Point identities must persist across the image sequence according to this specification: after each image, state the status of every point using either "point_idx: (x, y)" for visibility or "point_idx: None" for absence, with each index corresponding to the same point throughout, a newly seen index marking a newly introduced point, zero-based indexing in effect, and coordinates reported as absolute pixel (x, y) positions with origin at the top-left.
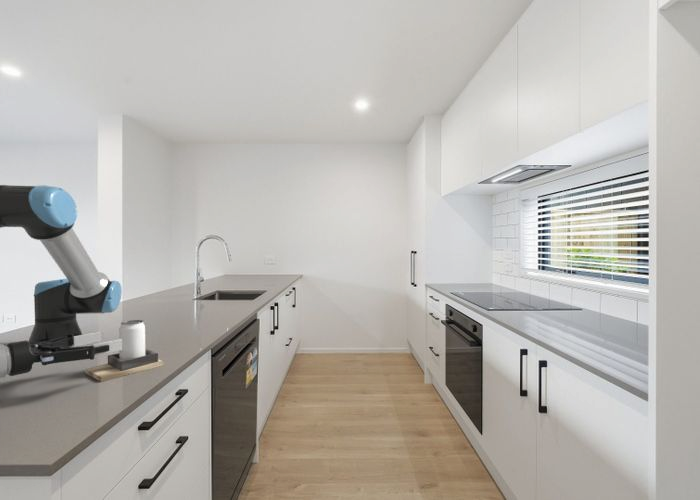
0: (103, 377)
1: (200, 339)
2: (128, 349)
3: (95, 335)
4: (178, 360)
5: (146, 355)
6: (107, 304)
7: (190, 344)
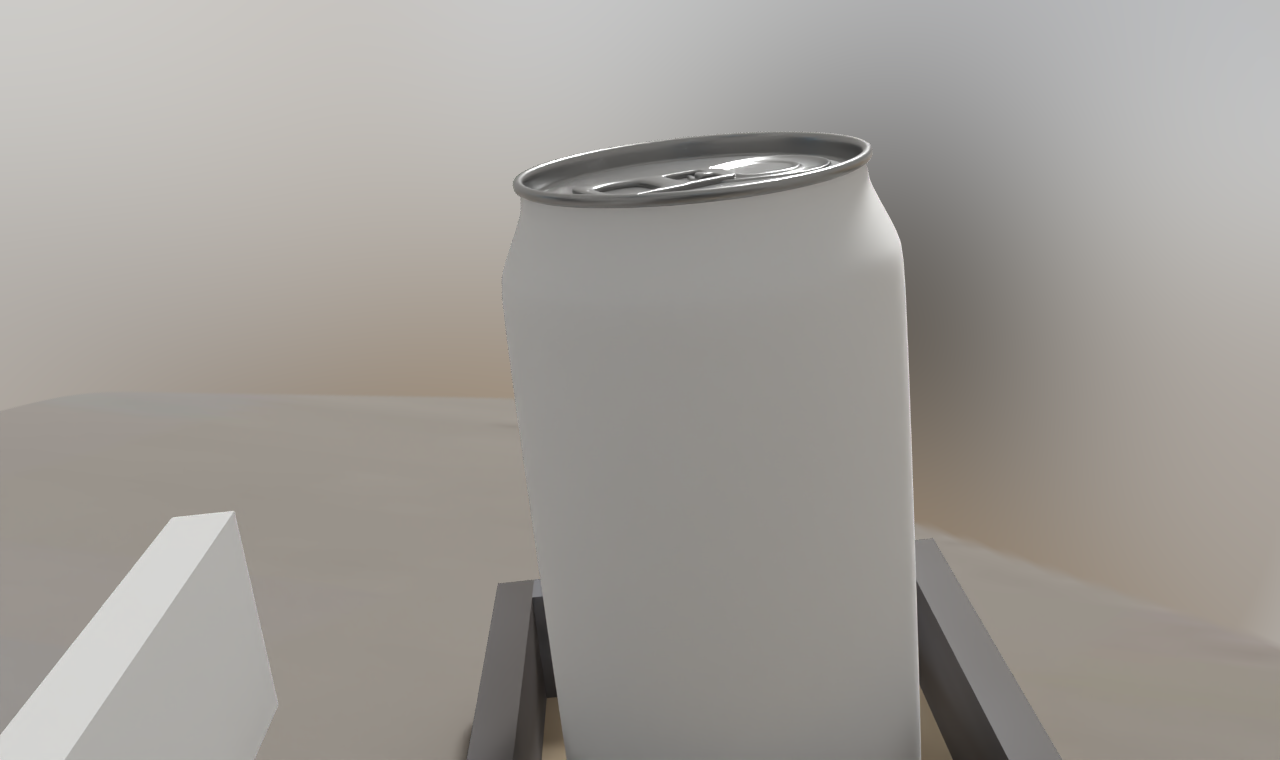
0: None
1: (372, 411)
2: (897, 609)
3: (211, 619)
4: None
5: (940, 607)
6: None
7: (434, 455)
